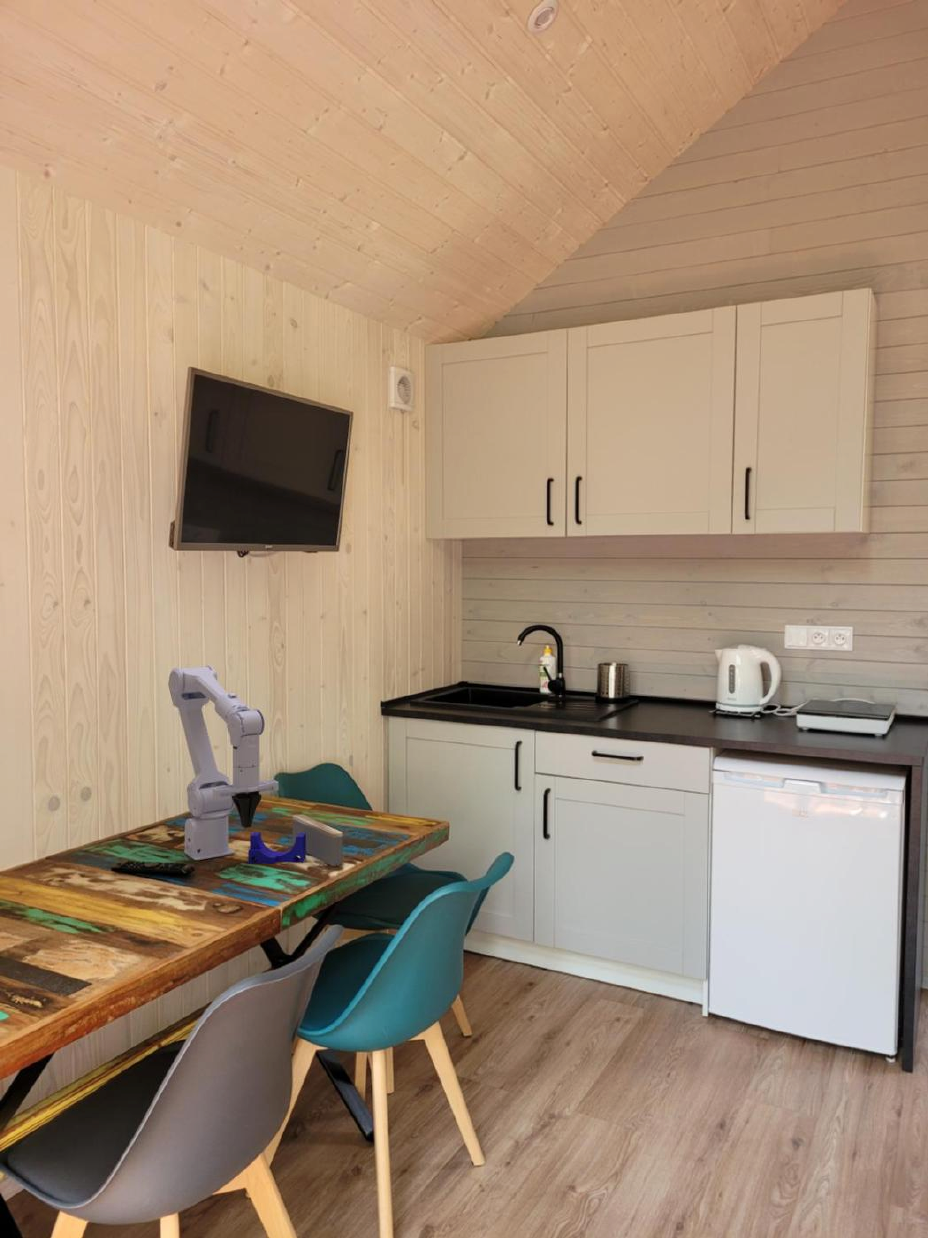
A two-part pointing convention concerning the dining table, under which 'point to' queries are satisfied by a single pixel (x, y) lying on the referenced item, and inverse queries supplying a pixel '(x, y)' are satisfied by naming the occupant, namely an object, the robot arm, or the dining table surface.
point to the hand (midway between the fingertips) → (246, 826)
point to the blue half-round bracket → (268, 856)
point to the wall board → (319, 839)
